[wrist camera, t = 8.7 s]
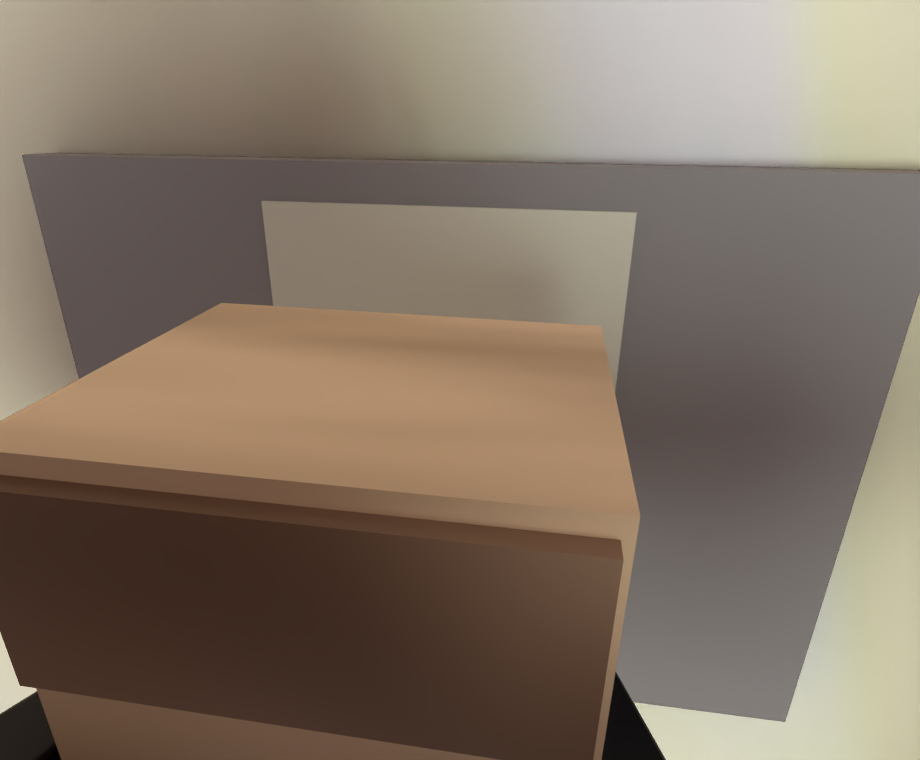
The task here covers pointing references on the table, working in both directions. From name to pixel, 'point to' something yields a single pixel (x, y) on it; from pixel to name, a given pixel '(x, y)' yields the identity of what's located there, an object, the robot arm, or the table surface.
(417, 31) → the table surface
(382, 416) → the copper block with band
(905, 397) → the table surface
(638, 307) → the mat
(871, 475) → the table surface
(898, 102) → the table surface
